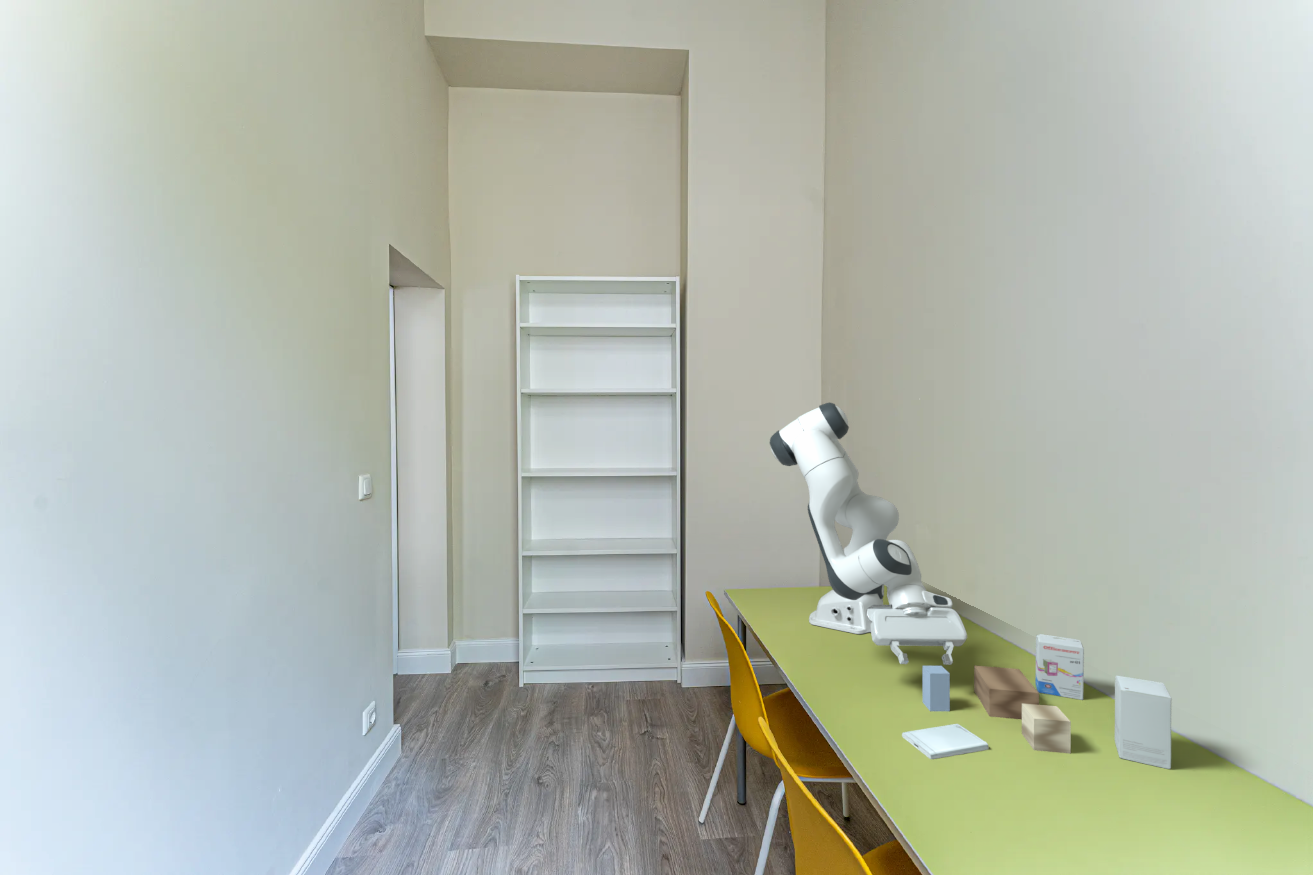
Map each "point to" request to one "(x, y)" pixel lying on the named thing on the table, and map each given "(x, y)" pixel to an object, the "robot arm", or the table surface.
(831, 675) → the table surface
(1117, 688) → the supplement box
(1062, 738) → the maple cube
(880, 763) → the table surface
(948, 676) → the slate post
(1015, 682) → the walnut block
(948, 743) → the hard drive
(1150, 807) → the table surface
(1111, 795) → the table surface
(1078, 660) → the ink box
